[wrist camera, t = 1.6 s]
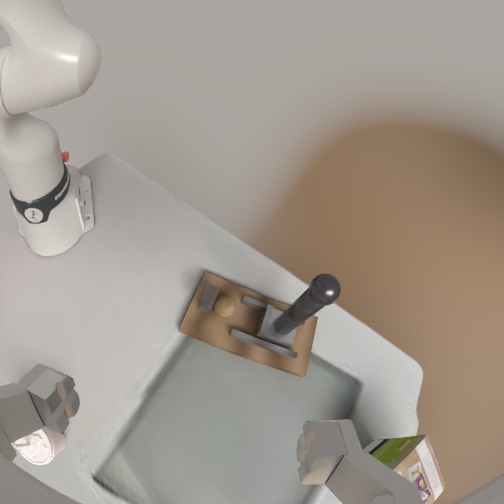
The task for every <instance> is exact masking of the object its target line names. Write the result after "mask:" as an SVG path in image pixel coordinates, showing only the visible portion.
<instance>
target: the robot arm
mask: <svg viewBox="0 0 504 504" xmlns="http://www.w3.org/2000/svg"><path fill="white" fill-rule="evenodd" d="M0 27H2V28H3V29H4V30H5V31H6V32H7V34H8V36H9V38H10V41H11V45H9V46H6V47H4V48H1V49H0V167H1V169H2V171H3V173H4V176H5V178H6V180H7V182H8V185H9V187H10V195H11V198H12V202H13V204H14V211H15V214H16V217H17V220H18V222H19V228H18V230H19V233H20V235H21V236H23V237H24V238H25V239H26V240H27V243H28V245H29V247H30V248H31V250H32V251H34V252H35V253H36V254H39V255H42V256H54V255H58V254H60V253H63V252H65V251H66V250H68V249H69V248H71V247H72V246H73V245H74V244H75V243H76V242H77V241H78V239H79V238H80V237H81V236H82V235H83V234H84V233H86V232H87V231H89V230H90V229H92V228H93V227H94V225H95V220H94V212H93V202H92V191H91V180H90V178H89V177H88V176H85V175H81V174H80V172H79V169H78V168H76V167H74V166H69V165H68V166H67V165H65V164H64V162H67V161H68V158H69V155H68V152H63V153H61V150H60V145H59V139H58V134H57V132H56V131H55V129H54V128H53V127H52V126H51V125H50V124H49V123H48V122H45V121H43V120H40V119H37V118H35V117H33V116H31V115H30V114H29V113H28V112H29V111H33V110H37V109H42V108H47V107H52V106H55V105H57V104H60V103H63V102H65V101H69V100H71V99H73V98H76V97H79V96H82V95H83V94H85V92H86V91H87V90H88V89H89V88H90V86H91V85H92V84H93V81H94V80H95V78H96V76H97V74H98V71H99V68H100V62H101V53H100V48H99V45H98V43H97V41H96V39H95V38H94V37H93V35H92V34H90V33H89V32H88V31H86V30H84V29H82V28H81V27H79V26H78V25H76V24H75V23H74V22H73V21H72V20H71V19H70V18H69V16H68V15H67V14H66V12H65V10H64V8H63V7H62V4H61V1H60V0H0ZM89 218H90V219H89ZM74 386H75V383H74V380H73V378H72V377H70V376H68V375H65V374H63V373H61V372H59V371H56V370H54V369H52V368H50V367H48V366H46V365H43V364H38V365H37V366H36V367H34V368H33V369H32V370H31V371H30V372H29V373H28V374H27V375H26V376H25V377H24V378H23V379H22V380H21V381H19V382H18V383H17V384H15V383H12V384H8V385H4V386H0V504H82V503H80V502H78V501H76V500H74V499H72V498H70V497H68V496H66V495H64V494H62V493H60V492H58V491H56V490H55V489H53V488H51V487H49V486H48V485H46V484H44V483H43V482H41V481H39V480H38V479H36V478H35V477H33V476H32V475H30V474H29V473H27V472H26V471H24V470H23V469H21V468H20V467H18V466H17V465H15V464H14V463H13V462H12V461H13V459H14V458H15V457H16V455H17V454H16V451H15V450H14V448H13V447H12V445H11V444H10V443H12V442H14V441H16V440H19V439H21V438H23V437H25V436H27V435H29V434H31V433H33V432H35V431H38V430H40V429H42V428H44V426H45V427H47V428H49V429H51V430H54V431H56V432H58V433H60V434H62V433H63V432H64V430H65V429H66V427H67V426H68V425H69V418H70V417H73V416H75V415H76V413H77V412H78V409H79V405H80V401H79V396H78V394H77V392H76V391H75V390H74V389H73V388H74ZM303 432H304V433H303V434H302V435H300V437H299V439H298V443H297V460H298V461H299V462H300V463H301V466H300V468H299V477H300V484H301V485H309V484H325V485H326V486H327V487H328V488H329V489H330V490H331V492H332V493H333V494H334V495H335V496H336V497H337V498H338V499H339V500H340V501H341V502H342V503H343V504H424V502H423V499H422V497H421V495H420V492H419V490H418V488H417V486H416V485H415V484H414V483H412V482H410V481H409V480H407V479H406V478H404V477H403V476H401V475H400V474H398V473H397V472H395V471H393V470H392V469H391V468H389V467H388V466H386V465H385V464H383V463H382V462H380V461H379V460H377V459H376V458H375V457H373V456H372V455H370V454H369V453H364V452H363V449H362V447H361V444H360V441H359V439H358V436H357V433H356V431H355V428H354V425H353V423H352V421H351V420H350V419H345V420H322V421H306V422H305V424H304V426H303ZM450 504H504V474H502V475H500V476H497V477H496V478H494V479H493V480H491V481H489V482H488V483H486V484H485V485H483V486H481V487H479V488H478V489H476V490H474V491H472V492H471V493H469V494H467V495H465V496H463V497H461V498H459V499H457V500H455V501H454V502H451V503H450Z"/></svg>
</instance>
